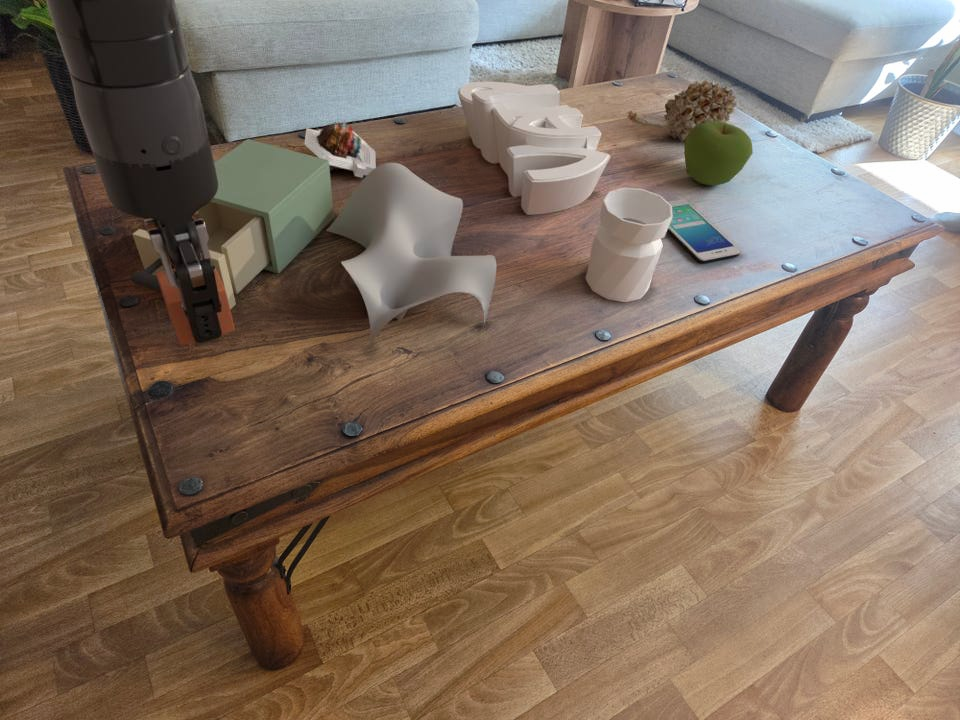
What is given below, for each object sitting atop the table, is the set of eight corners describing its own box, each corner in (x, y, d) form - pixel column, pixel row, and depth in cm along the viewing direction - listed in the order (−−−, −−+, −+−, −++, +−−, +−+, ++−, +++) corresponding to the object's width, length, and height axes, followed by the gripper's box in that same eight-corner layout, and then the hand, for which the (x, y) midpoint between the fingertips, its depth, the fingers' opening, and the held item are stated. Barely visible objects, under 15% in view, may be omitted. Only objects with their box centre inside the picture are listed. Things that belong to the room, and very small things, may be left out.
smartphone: (684, 198, 105) (743, 251, 96) (683, 203, 106) (741, 256, 96) (645, 204, 103) (701, 259, 93) (644, 209, 103) (699, 264, 94)
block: (180, 345, 55) (167, 304, 52) (168, 313, 58) (155, 272, 55) (235, 330, 57) (225, 290, 54) (221, 300, 60) (211, 259, 56)
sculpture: (510, 321, 82) (519, 258, 75) (360, 351, 76) (355, 285, 69) (445, 214, 98) (448, 153, 91) (318, 231, 92) (311, 168, 85)
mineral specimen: (293, 137, 107) (303, 97, 102) (361, 152, 113) (374, 114, 108) (304, 180, 100) (316, 139, 95) (376, 193, 105) (390, 155, 101)
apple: (677, 192, 108) (696, 135, 101) (670, 162, 116) (688, 106, 109) (742, 201, 108) (766, 144, 101) (732, 169, 115) (753, 115, 108)
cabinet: (278, 274, 85) (268, 213, 79) (195, 248, 87) (178, 187, 81) (334, 218, 95) (328, 160, 89) (257, 196, 97) (247, 138, 91)
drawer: (207, 332, 75) (192, 282, 70) (123, 305, 77) (103, 254, 72) (291, 250, 87) (283, 201, 82) (217, 228, 90) (205, 180, 84)
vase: (614, 255, 94) (634, 180, 86) (661, 287, 90) (688, 211, 81) (571, 276, 90) (588, 199, 81) (618, 311, 85) (642, 233, 77)
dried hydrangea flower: (702, 120, 129) (719, 69, 122) (735, 142, 123) (754, 90, 116) (609, 134, 121) (621, 80, 114) (639, 159, 115) (654, 104, 108)
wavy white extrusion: (615, 224, 100) (632, 160, 92) (514, 235, 95) (523, 169, 88) (534, 120, 123) (542, 62, 116) (449, 126, 119) (452, 66, 111)
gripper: (73, 98, 48) (138, 284, 60) (107, 194, 39) (174, 388, 51) (181, 85, 51) (222, 264, 63) (233, 172, 43) (269, 359, 55)
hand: (200, 319), depth 57 cm, fingers closed on block, 4 cm apart
